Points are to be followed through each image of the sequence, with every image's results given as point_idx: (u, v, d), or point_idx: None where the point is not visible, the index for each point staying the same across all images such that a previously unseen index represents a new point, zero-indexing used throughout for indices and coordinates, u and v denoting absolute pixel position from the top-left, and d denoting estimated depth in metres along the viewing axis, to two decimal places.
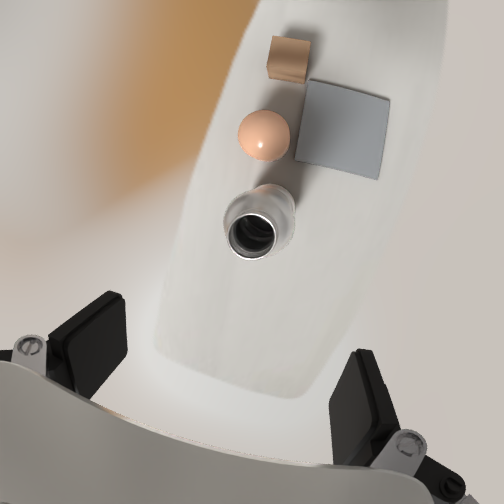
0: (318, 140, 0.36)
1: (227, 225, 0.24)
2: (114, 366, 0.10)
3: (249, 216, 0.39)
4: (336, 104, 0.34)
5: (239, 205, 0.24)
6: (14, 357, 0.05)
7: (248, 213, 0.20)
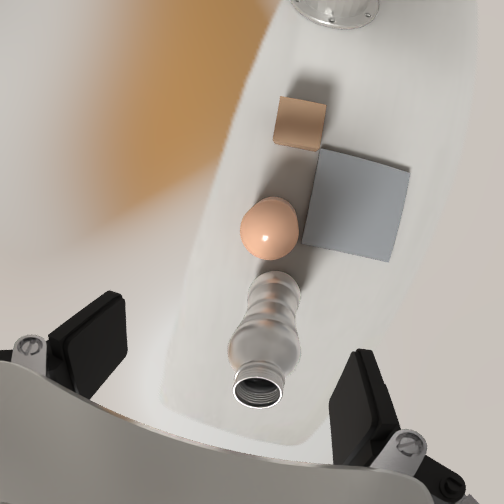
0: (328, 222, 0.34)
1: (232, 361, 0.23)
2: (114, 366, 0.10)
3: None
4: (351, 179, 0.32)
5: (244, 346, 0.22)
6: (14, 357, 0.05)
7: (254, 376, 0.19)
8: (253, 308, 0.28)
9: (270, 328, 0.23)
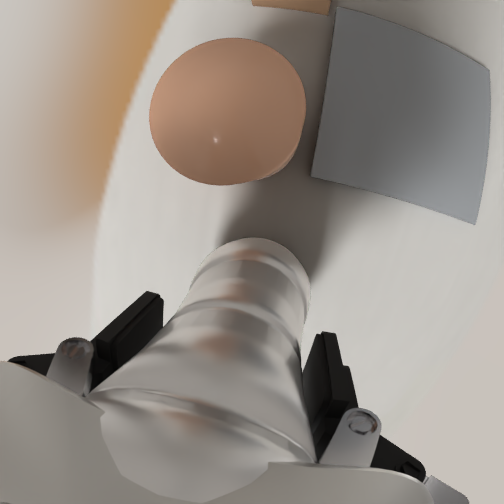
0: (366, 131, 0.14)
1: None
2: None
3: None
4: (400, 58, 0.12)
5: None
6: (56, 358, 0.06)
7: None
8: (164, 329, 0.08)
9: (164, 465, 0.03)
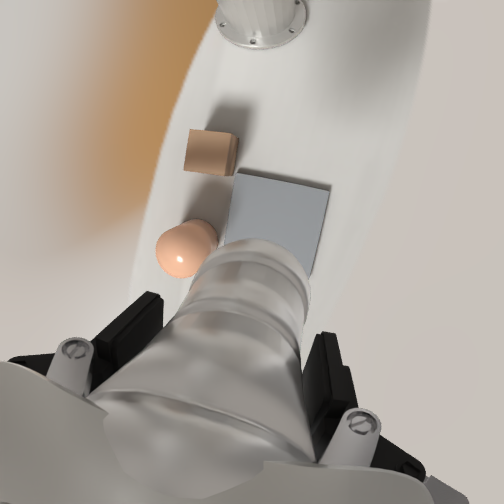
0: None
1: None
2: None
3: None
4: (265, 200, 0.36)
5: None
6: (56, 358, 0.06)
7: None
8: (164, 331, 0.08)
9: (163, 467, 0.03)
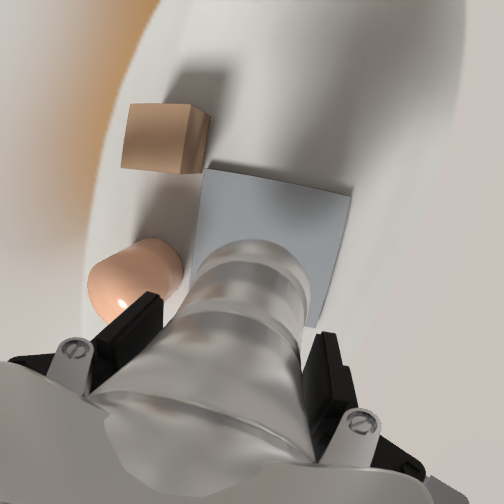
0: None
1: None
2: None
3: None
4: (250, 212, 0.23)
5: None
6: (56, 358, 0.06)
7: None
8: (164, 331, 0.08)
9: (163, 467, 0.03)
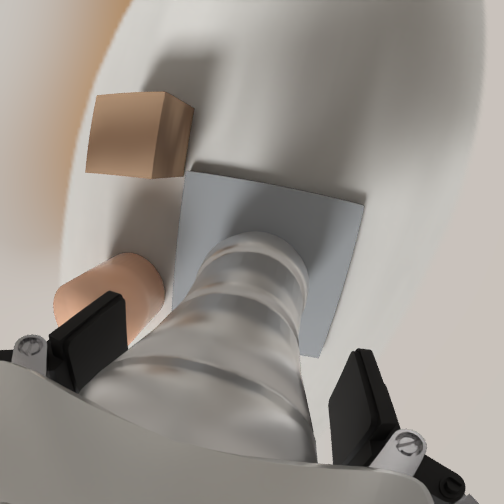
0: None
1: None
2: None
3: None
4: (241, 223, 0.19)
5: None
6: (14, 357, 0.05)
7: None
8: (174, 311, 0.09)
9: (178, 413, 0.04)
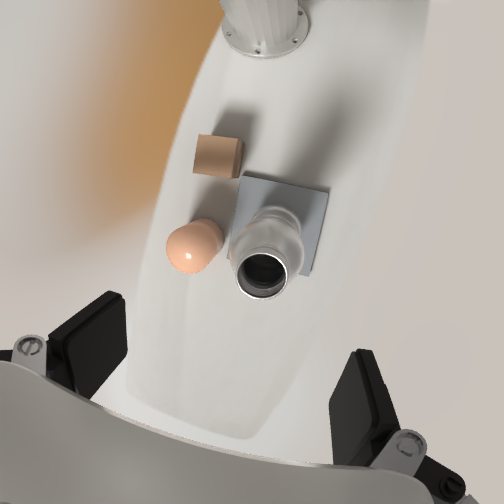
0: None
1: (234, 258, 0.23)
2: (114, 366, 0.10)
3: None
4: (268, 201, 0.38)
5: (247, 238, 0.23)
6: (14, 357, 0.05)
7: (258, 252, 0.19)
8: None
9: (273, 222, 0.23)
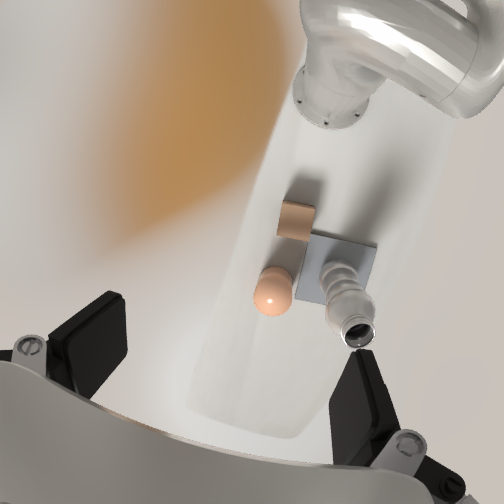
0: (314, 284, 0.49)
1: (333, 319, 0.32)
2: (114, 366, 0.10)
3: None
4: (331, 255, 0.47)
5: (344, 306, 0.31)
6: (14, 357, 0.05)
7: (360, 322, 0.28)
8: (336, 284, 0.37)
9: (359, 294, 0.32)
